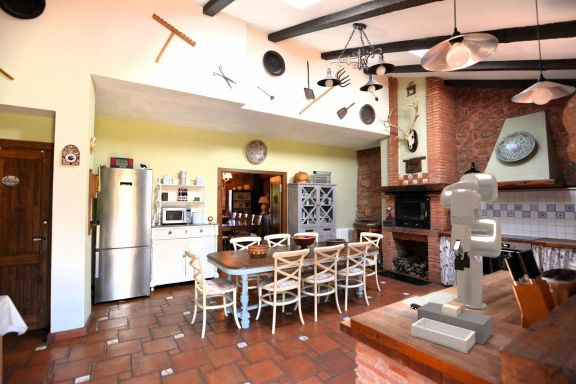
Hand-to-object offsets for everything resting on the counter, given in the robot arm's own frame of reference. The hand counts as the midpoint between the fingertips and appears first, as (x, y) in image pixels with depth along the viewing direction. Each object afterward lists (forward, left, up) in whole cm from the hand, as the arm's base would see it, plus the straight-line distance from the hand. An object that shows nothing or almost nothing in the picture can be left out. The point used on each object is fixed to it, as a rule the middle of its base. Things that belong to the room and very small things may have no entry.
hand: (462, 268), depth 112 cm
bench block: (+11, 0, -20) cm, 23 cm away
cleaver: (-2, -5, -20) cm, 21 cm away
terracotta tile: (+8, 0, -14) cm, 16 cm away
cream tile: (+13, 0, -14) cm, 19 cm away
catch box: (+22, 0, -20) cm, 30 cm away
